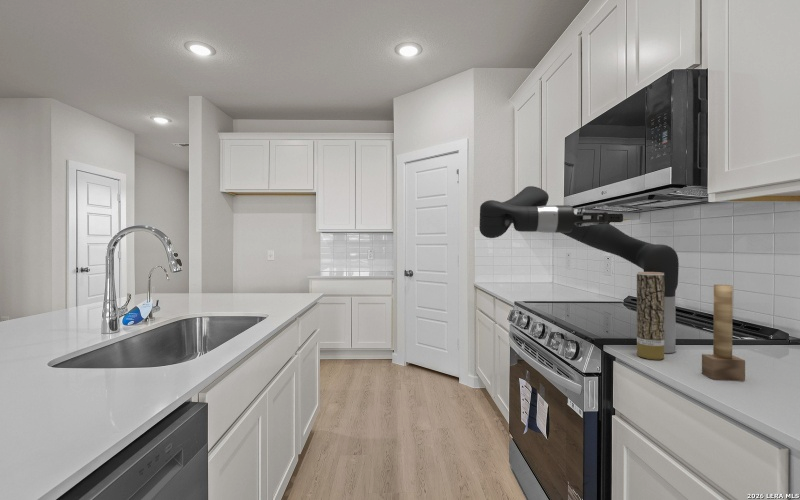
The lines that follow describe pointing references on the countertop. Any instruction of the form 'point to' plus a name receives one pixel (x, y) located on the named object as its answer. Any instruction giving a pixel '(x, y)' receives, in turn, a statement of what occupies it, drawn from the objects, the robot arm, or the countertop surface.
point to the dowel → (723, 321)
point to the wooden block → (723, 368)
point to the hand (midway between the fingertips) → (615, 219)
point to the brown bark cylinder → (650, 315)
